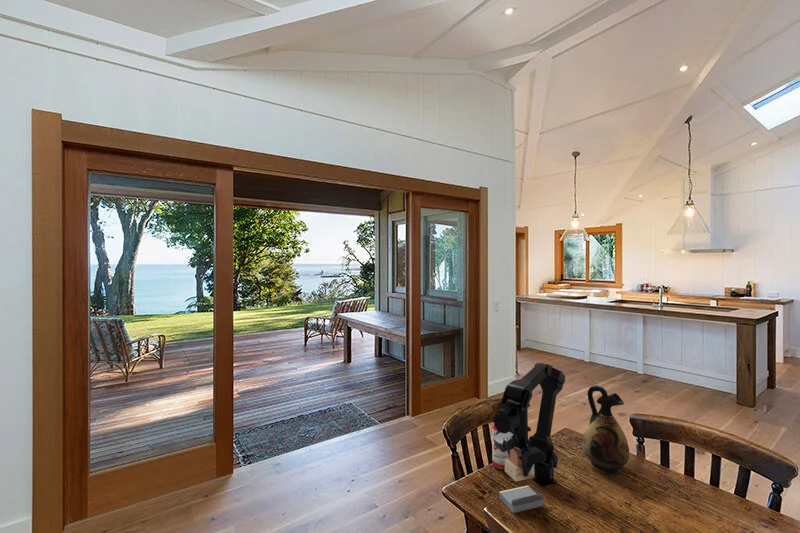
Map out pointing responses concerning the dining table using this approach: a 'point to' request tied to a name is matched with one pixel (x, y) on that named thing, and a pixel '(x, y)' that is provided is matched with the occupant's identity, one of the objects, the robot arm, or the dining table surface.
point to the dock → (521, 499)
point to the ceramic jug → (605, 435)
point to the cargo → (515, 456)
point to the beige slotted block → (517, 471)
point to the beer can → (498, 453)
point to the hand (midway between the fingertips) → (519, 471)
